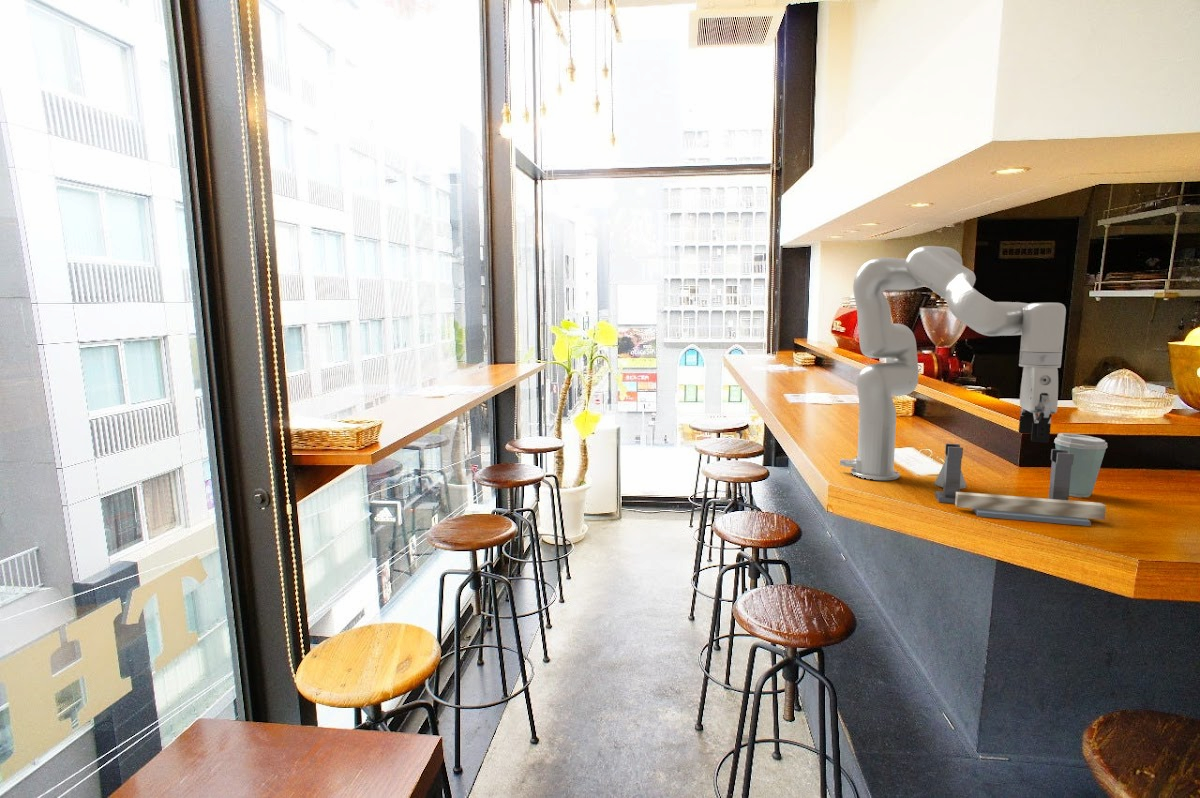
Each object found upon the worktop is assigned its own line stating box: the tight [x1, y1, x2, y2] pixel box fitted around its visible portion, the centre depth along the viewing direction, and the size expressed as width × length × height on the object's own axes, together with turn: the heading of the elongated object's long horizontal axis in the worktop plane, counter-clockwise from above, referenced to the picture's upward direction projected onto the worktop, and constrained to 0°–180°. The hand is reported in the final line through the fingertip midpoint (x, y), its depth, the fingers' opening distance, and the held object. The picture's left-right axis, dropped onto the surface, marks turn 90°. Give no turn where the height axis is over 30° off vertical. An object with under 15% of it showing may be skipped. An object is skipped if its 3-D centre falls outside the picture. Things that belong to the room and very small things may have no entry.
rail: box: [955, 491, 1107, 521], centre depth 142 cm, size 28×2×3 cm, turn 69°
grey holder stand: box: [934, 443, 1074, 504], centre depth 150 cm, size 28×6×14 cm, turn 70°
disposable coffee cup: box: [1053, 432, 1108, 498], centre depth 158 cm, size 11×11×15 cm
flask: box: [933, 461, 968, 490], centre depth 167 cm, size 7×7×10 cm
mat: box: [971, 508, 1092, 527], centre depth 142 cm, size 21×8×1 cm, turn 70°
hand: (1033, 437), depth 140 cm, fingers open, 9 cm apart
